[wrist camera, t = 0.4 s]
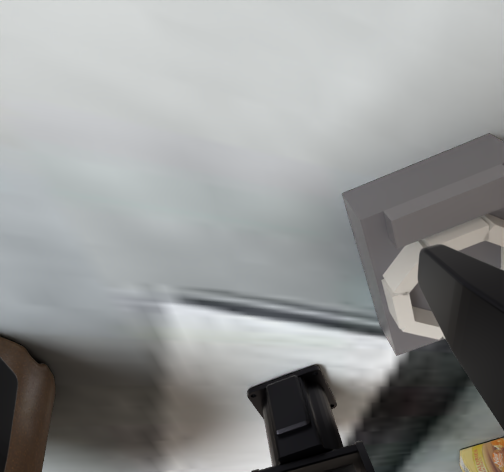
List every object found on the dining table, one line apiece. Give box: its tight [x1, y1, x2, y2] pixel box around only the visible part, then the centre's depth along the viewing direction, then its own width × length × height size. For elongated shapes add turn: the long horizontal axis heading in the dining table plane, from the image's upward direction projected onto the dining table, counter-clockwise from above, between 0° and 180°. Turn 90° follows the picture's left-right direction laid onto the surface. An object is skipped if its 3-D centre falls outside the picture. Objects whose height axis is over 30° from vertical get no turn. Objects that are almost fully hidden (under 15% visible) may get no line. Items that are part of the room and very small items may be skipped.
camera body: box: [342, 133, 504, 356], centre depth 25 cm, size 13×9×4 cm
